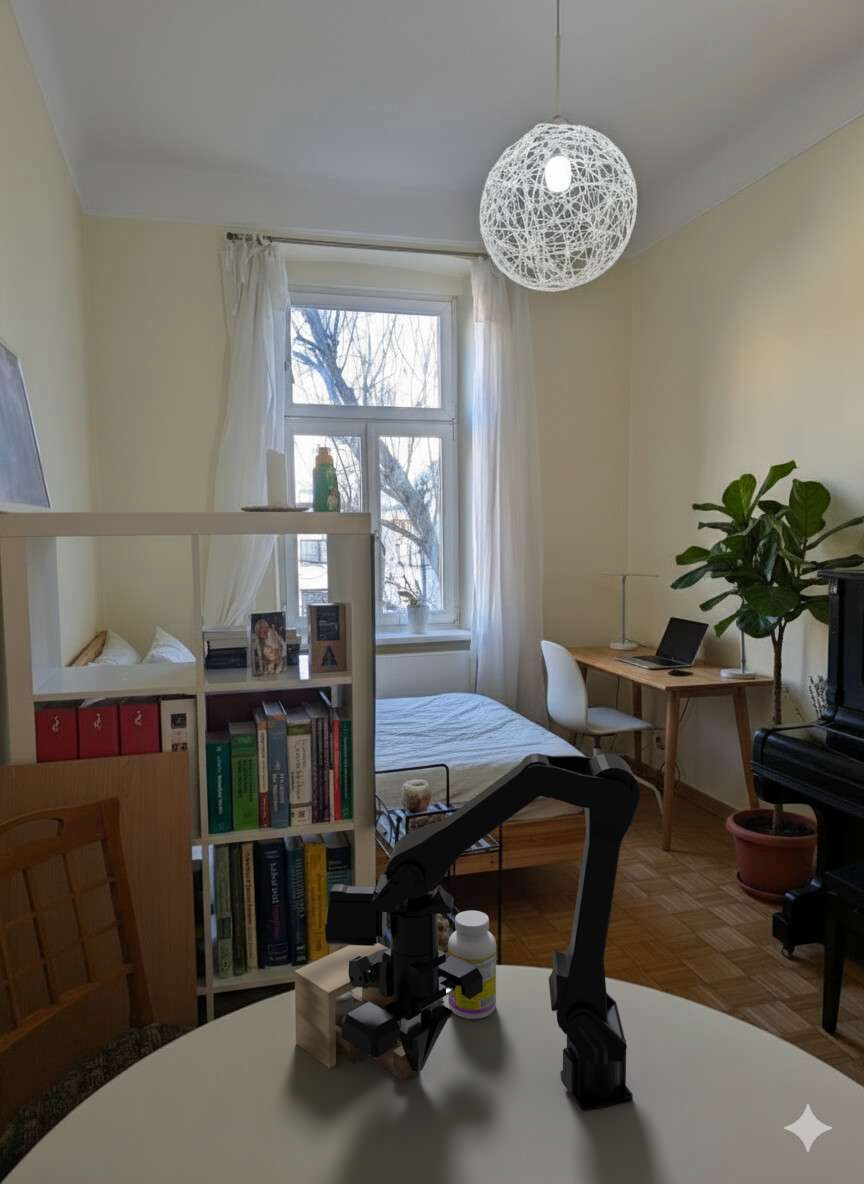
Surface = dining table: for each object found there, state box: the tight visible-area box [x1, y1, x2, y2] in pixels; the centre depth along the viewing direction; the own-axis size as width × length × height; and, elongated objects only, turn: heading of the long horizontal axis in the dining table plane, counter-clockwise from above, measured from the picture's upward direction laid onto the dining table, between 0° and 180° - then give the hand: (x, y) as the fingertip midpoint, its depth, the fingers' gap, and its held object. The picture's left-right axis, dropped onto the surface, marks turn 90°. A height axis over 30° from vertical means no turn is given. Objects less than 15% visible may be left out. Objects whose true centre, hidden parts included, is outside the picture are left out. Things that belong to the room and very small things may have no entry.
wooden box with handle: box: [335, 990, 415, 1081], centre depth 102 cm, size 16×7×5 cm, turn 46°
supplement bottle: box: [447, 910, 497, 1020], centre depth 110 cm, size 7×7×13 cm
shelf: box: [294, 942, 393, 1069], centre depth 105 cm, size 7×12×10 cm, turn 135°
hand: (416, 1070), depth 96 cm, fingers closed, pressing on wooden box with handle
